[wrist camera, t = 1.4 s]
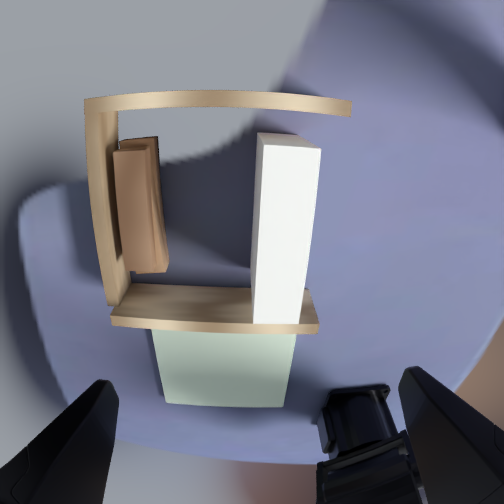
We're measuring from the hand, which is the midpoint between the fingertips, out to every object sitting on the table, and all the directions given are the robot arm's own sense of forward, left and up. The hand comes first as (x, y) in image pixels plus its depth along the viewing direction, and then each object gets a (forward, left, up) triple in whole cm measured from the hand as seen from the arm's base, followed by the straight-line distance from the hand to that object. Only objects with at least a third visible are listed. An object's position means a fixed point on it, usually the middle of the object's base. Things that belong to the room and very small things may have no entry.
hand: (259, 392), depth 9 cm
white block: (-1, -1, -13) cm, 13 cm away
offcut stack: (+7, -1, -14) cm, 15 cm away
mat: (+2, +12, -13) cm, 18 cm away
